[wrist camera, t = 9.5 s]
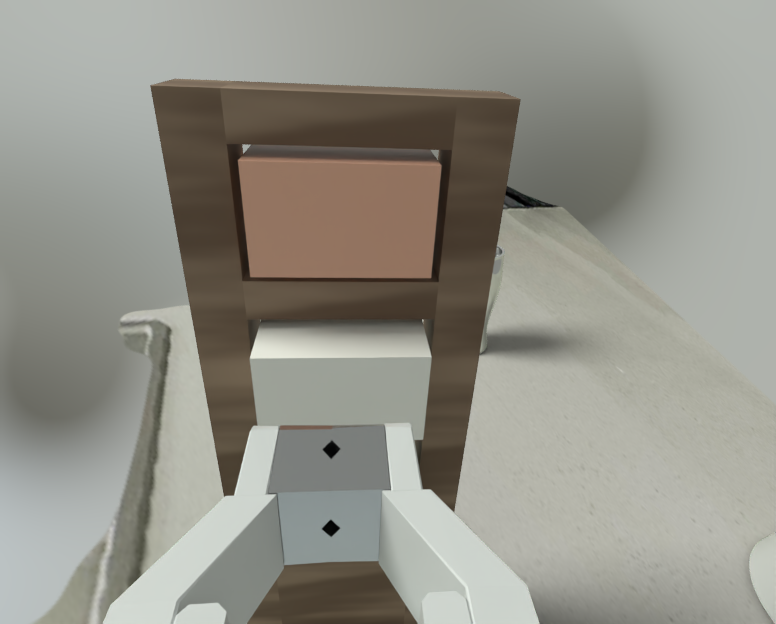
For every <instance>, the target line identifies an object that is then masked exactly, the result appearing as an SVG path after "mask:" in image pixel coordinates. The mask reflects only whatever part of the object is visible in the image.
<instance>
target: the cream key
mask: <svg viewBox="0 0 776 624" xmlns="http://www.w3.org/2000/svg"><path fill="white" fill-rule="evenodd" d="M431 359H432V356H431V353H430V349H429V345H428V341H427V337H426V334H425V330H424V326H423V322H422V319H261V322H260V325H259V329H258V332H257V335H256V339H255V342H254V346H253V349H252V352H251V356H250V366H251V374H252V383H253V391H254V400H255V408H256V417H257V425H258V426H281V425H362V424H383V425H384V424H385V423H410V424H411V425H412V429H413V435H414V440H423V436H424V427H425V417H426V407H427V398H428V388H429V378H430V369H431Z"/></svg>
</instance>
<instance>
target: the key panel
mask: <svg viewBox="0 0 776 624" xmlns="http://www.w3.org/2000/svg"><path fill="white" fill-rule="evenodd" d="M151 91H152V97H153V102H154V108H155V114H156V119H157V124H158V131H159V136H160V141H161V147H162V153H163V158H164V164H165V169H166V174H167V181H168V185H169V192H170V197H171V203H172V209H173V214H174V219H175V225H176V231H177V237H178V242H179V248H180V253H181V259H182V264H183V269H184V275H185V281H186V287H187V292H188V297H189V303H190V309H191V315H192V320H193V326H194V331H195V337H196V342H197V348H198V354H199V359H200V365H201V370H202V376H203V382H204V387H205V393H206V398H207V404H208V409H209V415H210V421H211V426H212V432H213V437H214V443H215V448H216V454H217V460H218V465H219V471H220V476H221V482H222V487H223V493H224V497H225V496H234V494H235V490H236V486H237V482H238V478H239V473H240V469H241V465H242V461H243V457H244V453H245V449H246V445H247V441H248V437H249V433H250V431H251V429H252V427H253V426H258V425H257V417H256V408H255V400H254V391H253V383H252V374H251V366H250V356H251V352H252V349H253V346H254V342H255V339H256V335H257V332H258V329H259V325H260V319H424V322H423V326H424V330H425V334H426V337H427V341H428V345H429V349H430V353H431V356H432V359H431V369H430V378H429V388H428V398H427V407H426V417H425V427H424V436H423V440H414V441H415V447H416V453H417V458H418V464H419V470H420V476H421V481H422V487H423V489H431V490H432V491H433V492H434V493H435V494H436V495H437V496H438V497H439V498H440V499H441V500H442V501H443V502H444V503H445V504H446V505H447V506H448V507H449V508H450V509H451V510H452V511H453V512H454V509H455V503H456V497H457V491H458V485H459V478H460V472H461V466H462V460H463V454H464V447H465V441H466V435H467V429H468V422H469V416H470V410H471V404H472V398H473V391H474V385H475V379H476V373H477V367H478V360H479V354H480V348H481V342H482V335H483V329H484V323H485V317H486V311H487V304H488V298H489V292H490V286H491V279H492V273H493V267H494V261H495V255H496V248H497V242H498V236H499V230H500V224H501V217H502V211H503V205H504V199H505V192H506V186H507V180H508V174H509V168H510V161H511V155H512V149H513V143H514V136H515V130H516V124H517V118H518V112H519V105H520V99H518V98H516V97H513V96H510V95H508V94H505V93H503V92H499V91H475V90H449V89H424V88H398V87H369V86H347V85H319V84H294V83H269V82H268V83H267V82H242V81H217V80H191V79H173V80H169V81H165V82H162V83H158V84H154V85H151ZM242 144H251V145H287V146H323V147H358V148H394V149H430V150H439V156H438V162H439V163H440V164H441V177H440V188H439V199H438V209H437V220H436V231H435V241H434V252H433V263H432V273H431V278H289V277H250V269H249V260H248V250H247V241H246V232H245V222H244V213H243V204H242V194H241V185H240V175H239V166H238V160H239V159H240V158H241V156H242V155H243V148H242ZM247 624H418V623H417V621H416V620H415V618H414V617H413V615H412V614H411V612H410V611H409V609H408V608H407V606H406V605H405V603H404V602H403V600H402V598H401V597H400V595H399V594H398V592H397V591H396V589H395V588H394V586H393V585H392V583H391V582H390V580H389V578H388V577H387V575H386V574H385V572H384V571H383V569H382V568H381V566H380V565H379V561H352V562H322V563H308V564H294V565H284V569H283V571H282V572H281V574H280V575H279V577H278V578H277V580H276V581H275V583H274V584H273V585H272V587H271V588H270V590H269V591H268V593H267V594H266V596H265V597H264V599H263V600H262V602H261V603H260V605H259V606H258V608H257V609H256V611H255V612H254V614H253V615H252V617H251V618H250V619H249V621H248V622H247Z"/></svg>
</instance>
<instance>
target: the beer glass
mask: <svg viewBox="0 0 776 624" xmlns="http://www.w3.org/2000/svg"><path fill="white" fill-rule="evenodd" d="M504 254H505V251H504V249H503V248H502V247H501V246H499V245H497V248H496V255H495V261H494V267H493V273H492V279H491V286H490V292H489V298H488V304H487V311H486V317H485V323H484V329H483V335H482V342H481V348H480V353H482V352H484V351H485V350H486V348H487V326H488V322H489V319H490V316H491V313H492V311H493V308H494V305H495V303H496V300H497V297H498V294H499V290H500V286H501V281H502V274H503V264H504Z"/></svg>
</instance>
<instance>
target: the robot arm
mask: <svg viewBox="0 0 776 624" xmlns="http://www.w3.org/2000/svg"><path fill="white" fill-rule="evenodd" d="M352 561H379V565H380V566H381V568H382V569H383V571H384V572H385V574H386V575H387V577H388V578H389V580H390V582H391V583H392V585H393V586H394V588H395V589H396V591H397V592H398V594H399V595H400V597H401V598H402V600H403V602H404V603H405V605H406V606H407V608H408V609H409V611H410V612H411V614H412V615H413V617H414V618H415V620H416V621H417V623H418V624H540V623H539V620H538V617H537V614H536V611H535V608H534V605H533V602H532V599H531V596H530V593H529V590H528V587H527V585H526V584H525V583H524V582H523V581H522V580H521V579H520V578H519V577H518V576H517V575H516V574H515V573H514V572H513V571H512V570H511V569H510V568H509V567H508V566H507V565H506V564H505V563H504V562H503V561H502V560H501V559H500V558H499V557H498V556H497V555H496V554H495V553H494V552H493V551H492V550H491V549H490V548H489V547H488V546H487V545H486V544H485V543H484V542H483V541H482V540H481V539H480V538H479V537H478V536H477V535H476V534H475V533H474V532H473V531H472V530H471V529H470V528H469V527H468V526H467V525H466V524H465V523H464V522H463V521H462V520H461V519H460V518H459V517H458V516H457V515H456V514H455V513H454V512H453V511H452V510H451V509H450V508H449V507H448V506H447V505H446V504H445V503H444V502H443V501H442V500H441V499H440V498H439V497H438V496H437V495H436V494H435V493H434V492H433V491H432V490H431V489H423V487H422V481H421V476H420V470H419V464H418V458H417V453H416V447H415V441H414V435H413V429H412V425H411V424H410V423H385V424H384V425H383V424H362V425H281V426H253V427H252V429H251V431H250V433H249V437H248V441H247V445H246V449H245V453H244V457H243V461H242V465H241V469H240V473H239V478H238V482H237V486H236V490H235V494H234V496H225V497H224V498H223V499H222V500H221V501H220V502H219V503H218V504H217V505H216V506H214V507H213V508H212V509H211V510H210V511H209V512H208V513H207V514H206V515H205V516H204V517H203V518H202V519H201V520H200V521H199V522H198V523H197V524H196V525H194V526H193V527H192V528H191V529H190V530H189V531H188V532H187V533H186V534H185V535H184V536H183V537H182V538H181V539H180V540H179V541H178V542H177V543H176V544H174V545H173V546H172V547H171V548H170V549H169V550H168V551H167V552H166V553H165V554H164V555H163V556H162V557H161V558H160V559H159V560H158V561H157V562H156V563H154V564H153V565H152V566H151V567H150V568H149V569H148V570H147V571H146V572H145V573H144V574H143V575H142V576H141V577H140V578H139V579H138V580H137V581H136V582H134V583H133V584H132V585H131V586H130V587H129V588H128V589H127V590H126V591H125V592H124V593H123V594H122V595H121V596H120V597H119V598H118V599H117V600H115V601H114V602H113V603H112V604H111V605H110V608H109V610H108V612H107V615H106V617H105V620H104V622H103V624H247V622H248V621H249V619H250V618H251V617H252V615H253V614H254V612H255V611H256V609H257V608H258V606H259V605H260V603H261V602H262V600H263V599H264V597H265V596H266V594H267V593H268V591H269V590H270V588H271V587H272V585H273V584H274V583H275V581H276V580H277V578H278V577H279V575H280V574H281V572H282V571H283V569H284V565H294V564H308V563H322V562H352ZM749 570H750V576H751V580H752V584H753V586H754V589H755V591H756V594H757V596H758V598H759V600H760V602H761V604H762V605H763V607H764V609H765V610H766V612H767V613H768V615H769V616H770V618H771V619H772V621H773V622H774V624H776V532H775V533H773V534H771V535H769V536H767V537H765V538H764V539H762V540H760V541H759V542H758V543H757V544H756V545H755V546H754V548H753V550H752V552H751V555H750V559H749Z"/></svg>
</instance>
